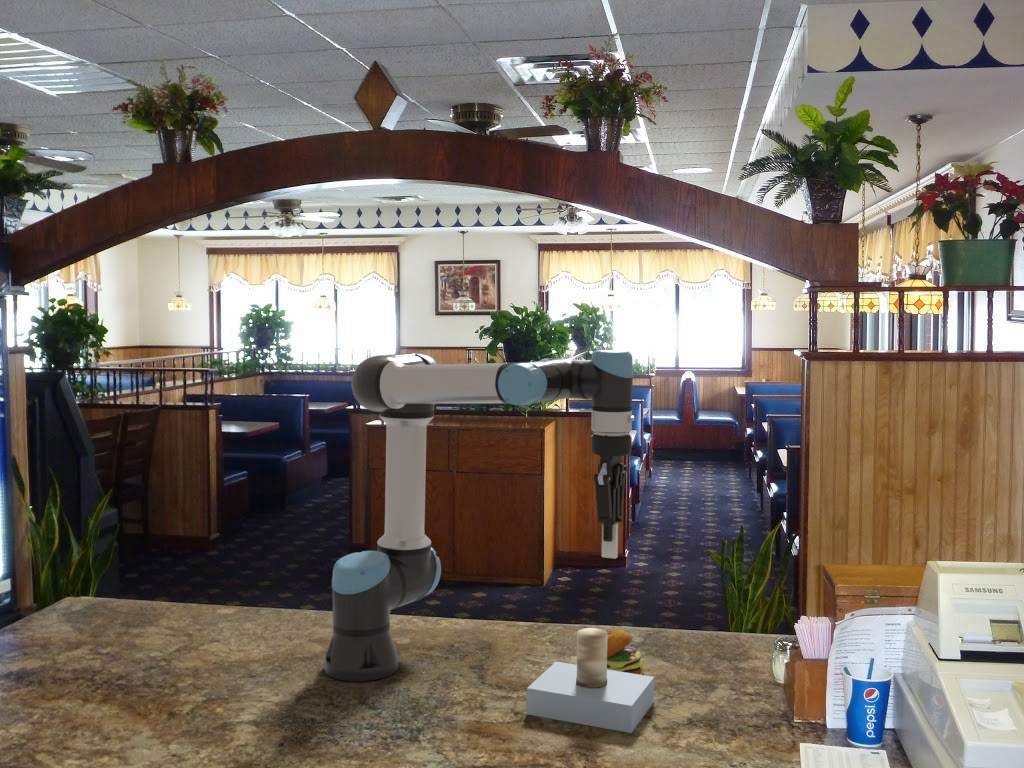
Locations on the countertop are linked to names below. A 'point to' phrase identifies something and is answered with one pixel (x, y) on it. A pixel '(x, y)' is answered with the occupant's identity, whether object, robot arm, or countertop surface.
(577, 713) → the board
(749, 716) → the countertop surface
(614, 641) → the cheeseburger
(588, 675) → the peg
